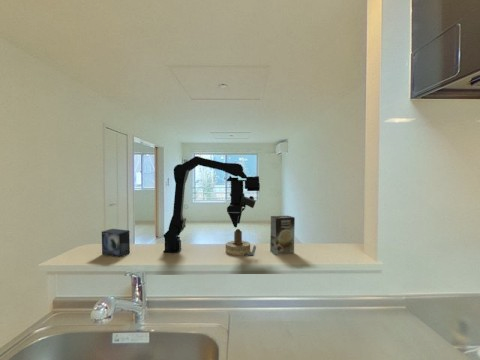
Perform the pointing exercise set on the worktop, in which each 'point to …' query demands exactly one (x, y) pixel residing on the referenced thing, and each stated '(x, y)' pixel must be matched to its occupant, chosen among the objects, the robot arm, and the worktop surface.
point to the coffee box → (282, 234)
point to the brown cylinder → (237, 237)
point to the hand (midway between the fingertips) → (237, 225)
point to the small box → (115, 242)
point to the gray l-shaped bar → (252, 252)
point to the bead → (238, 248)
